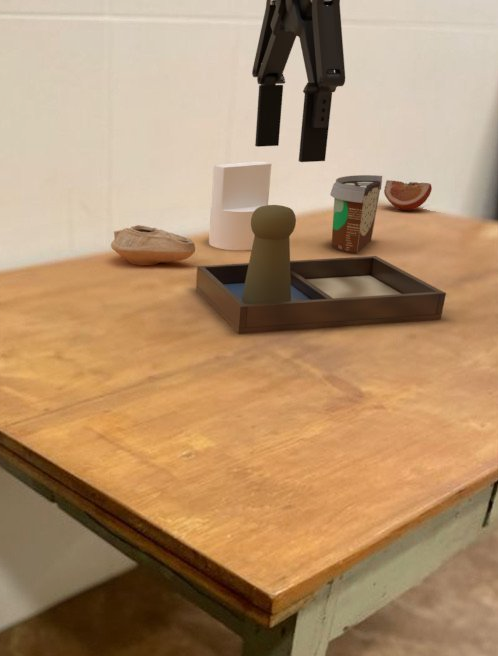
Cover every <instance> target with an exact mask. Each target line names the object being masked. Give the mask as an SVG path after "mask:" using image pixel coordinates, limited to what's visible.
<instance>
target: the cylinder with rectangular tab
mask: <svg viewBox="0 0 498 656" xmlns="http://www.w3.org/2000/svg"><path fill="white" fill-rule="evenodd" d="M271 174H272V163H271V162H268V161H263V160H258V161H256V160H255V161H245V162H234V163H233V162H232V163H222V164H221V163H219V164H213V170H212V187H211V188H212V192H211V205H210V215H209V231H208V232H209V233H208V234H209V235H208V244H209V246H211V247H213V248H216V249H220V250H221V249H222V250H227V251H252V246H253V241H254V236H255V235H254V233H253V231H252V229H251V217H252V214H253V213H254V211H255V210H256V209H257V208H259V207H261V206H266V205H269V199H270V188H271V187H270V186H271Z"/></svg>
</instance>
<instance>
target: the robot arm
mask: <svg viewBox="0 0 498 656" xmlns="http://www.w3.org/2000/svg"><path fill="white" fill-rule="evenodd" d="M342 30H343V28H342V15H341V0H266V2H265V9H264V14H263V18H262V23H261V28H260V34H259V38H258V42H257V47H256V52H255V56H254V61H253V66H252V70H251V75H252V77H253V78H256V81H257V84H258V95H257V97H258V99H257V113H256V127H255V128H256V129H255V143H254V146H255V147H257V148H258V147H279V143H280V131H281V119H282V107H283V94H284V84H286V78H285V75H284V71H285V68H286V66H287V63H288V60H289V58H290V55H291V52H292V49H293V46H294V43H295V41H296V38H297V37H298V39H299V43H300V49H301V52H302V58H303V63H304V69H305V73H306V78H307V82H306V85H305V86H304V88H303V90H302V92H303V94H304V98H303V109H302V117H301V118H302V120H301V129H300V141H299V152H298V154H299V155H298V162H300V163H314V162H315V163H317V162H325V161H326V155H327V145H328V137H329V127H330V119H331V118H330V117H331V110H332V109H331V108H332V98H333V93H335V92H336V90H337V88H338V87H343V86H344V85H345V83H346V69H345V57H344V56H345V55H344V43H343V42H344V41H343V31H342Z"/></svg>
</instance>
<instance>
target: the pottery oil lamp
mask: <svg viewBox="0 0 498 656" xmlns="http://www.w3.org/2000/svg"><path fill="white" fill-rule="evenodd" d="M113 236H114V237H113V238H114V239H113V241H112V242H111V243H110V247H111V250H113V251H114V252H115V253H116V254H118V255H119V256H120V257H121V258H123V259H124V260H126V261H128V262H129V263H130V264H132V265H137V266H154V265H157V264H159V263H169V262H170V263H171V262H179V261H183V260H187V259H188V258H190V257H191V256H193V254H194V253H195V252H196V245H195V242H194V241H193V240H192V239H190V238H188V237H185V236H182V235H179V234H177V233H173V232H169V231H165V230H163V229H158V228H157V227H150V226H147V225H141V224H138V225H137V224H136V225H133V226H130V227H129V228H128V227H125V228H123V229H119V230H114V231H113Z"/></svg>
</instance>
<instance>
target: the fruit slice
mask: <svg viewBox="0 0 498 656" xmlns="http://www.w3.org/2000/svg"><path fill="white" fill-rule="evenodd" d="M432 188H433V187H432V184H431V183H428V182H416V181H414V182H413V181H410V182H408V183H407V182H403V181H399V180H389V179H388V180H386V182H385V185H384V190H383V195H384V197H385V198H386V199H387V201H388V202H389V203H390V204H391V205H392V206H393V207H395V208H396V209H398V210H400V211H411V210H415V209H417V208H419V207H421V206H422V205H423V204H424V203H426V201H427V200H428V198H429V197H430V195H431V193H432Z"/></svg>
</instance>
